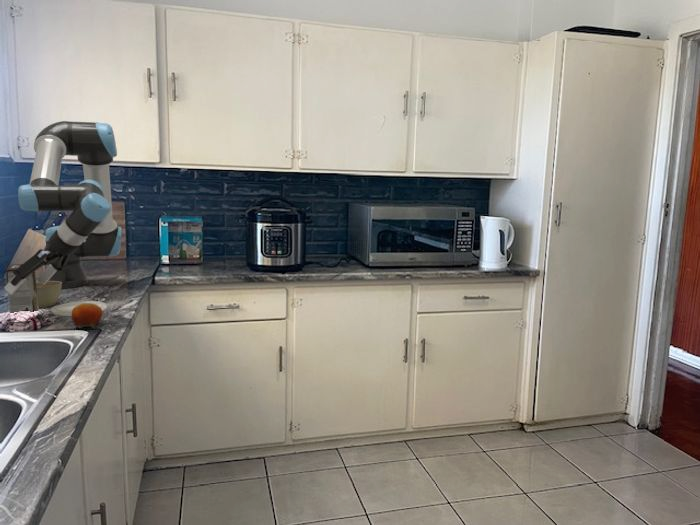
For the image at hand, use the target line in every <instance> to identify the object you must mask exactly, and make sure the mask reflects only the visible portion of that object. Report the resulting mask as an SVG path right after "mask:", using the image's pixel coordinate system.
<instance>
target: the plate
mask: <svg viewBox="0 0 700 525" xmlns="http://www.w3.org/2000/svg"><path fill="white" fill-rule="evenodd" d="M83 303H92V304H96V305H98V306H99V307H100V308H101V309H102V313H103V312H104V311H106V310H107V309H108V305H107V303H105V302H103V301H97V300H77V301H71V302H66V303H62V304H59V305H54V306H53V307H51V314H52V315H53V314H54V315H53V316H56V315H57V317H63V316H67V317H66V318H70V316H71V318H72V310H73V308H74V307H76V306H78V305H80V304H83Z"/></svg>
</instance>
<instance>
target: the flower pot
mask: <svg viewBox="0 0 700 525" xmlns="http://www.w3.org/2000/svg"><path fill="white" fill-rule="evenodd" d="M61 287H62V282H59V281H47V282H46V283H45V284H44V285H42V284H41V283H40V282H39V281H38V282H37V281H36V288H37V300H38V307H40V306H41V308H43V307H44V308H46V307H51V306H56V304H57V301H58V300H59V298H60V295H61V291H62V288H61Z"/></svg>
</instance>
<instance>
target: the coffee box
mask: <svg viewBox="0 0 700 525" xmlns="http://www.w3.org/2000/svg"><path fill="white" fill-rule="evenodd" d="M22 264H23V263H16V264H13V263H12V264H10V265H9V266H8V267H7V268H6V269H5V274H6V283H7V284H8V283H9V282H10V281H11V280H12V278H13V277H14V276H15V275H14V274H13V272H14V270H15V269H17V268H19V267H20V266H21V265H22ZM36 283H37V276H36V271H35V272H33V273H32V274H30V275H29V276H27V277H26V280H25V281H24V282H23V283H22V284H21V285H20V287H19V288H18V289H17V290H16V291H15V292H14V293H13V294H12V295H10V294H9V293H8V292H7V297H8V305H9V306H8V307H9V314H10V313H14V312H19V311H30V312H34V311H39V306H38V300H37V288H36ZM7 284H6V285H7Z"/></svg>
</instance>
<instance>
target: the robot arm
mask: <svg viewBox="0 0 700 525" xmlns="http://www.w3.org/2000/svg"><path fill="white" fill-rule="evenodd" d="M33 149H34V153H35V156H34V160H33V164H32V170H31V171H32V172H31V176H30V180H29V183H27V184H21V185H20V186H19V187H18V191H17V193H18V194H17V195H18V204H19V207H20V209H21V210H23V211H27V212H29V211H32V212H51V211H54V212H55V211H56V212H59V211H60V212H62V211H63V212H65V211H68V212H69V211H71V213H70V214H69V215H68V216H67V218H65V220H64V221H63V222H62V223H60V225H56V226H51V227H49V228H47V229H46V230H45V239H44V241H45V247H46V248H44V249H42V248H40V249H38V251H36V253H35V254H34V255H32V256H31V257H30V258H29V259H27V260H26V261H25V262H23V263H21V264H22V265H21V266H20V267H19V268H17V269H15V270H14V272H13V274H14V275H15V276H14V277H13V278H12V280H11V281H10V282H9V283H8V284H6V285H5V286H4V289H5V291H6V292H7V294H8V293H9V294H10V295H12V294H13V293H14V292H15V291H16V290H17V289H18V288H19V287H20V285H21V284H22V283H23V282H24V281H25V280H26V277H27V276H29V275H30V274H32V273H33V272H35V273H36V271H38V270H39V269H40V268H42V267H43V266H46V268H45V269H44V270H43V271H42V272H41V273H40V274H39V275H38V276H37V277H36V281H37V280H38V282H40V283H41V284H42V285H44V284H45V283H46V282H47V281H59V282H62V287H61V289H71V288H79V287H82V286H86V285H87V284H88V282H89V281H88V277H87V274H86V272H85V269H84V267H83V264H82V258H98V257H99V258H100V257H107V258H109V257H115V256H116V257H117V256H119V254H120V252H121V246H122V245H121V244H122V227H121V226H118V223H117V221H115V219H114V218H113V204H112V191H111V190H112V188H111V176H110V165H111V164H112V163H113V162H114V158H115V157H118V151H117V150H118V149H117V142H116V138H115V133H114V130H113V126H112V125H110V124H109V123H107V122H106V123H103V122H98V121H96V122H92V121H90V122H89V121H88V122H87V121H68V120H63V121H58V122H57V121H56V122H55V123H52V124H49V125H47V126H46V127H45V128H43V129H42V130H41V131H40V132H39V133H38V134H37V135H36V136H35V139H34V143H33ZM65 156H71V157H72V156H73V157H75V156H76V157H77V161H78V163H80V164H81V165H82V169H83V176H84V177H83V179H84V180H82V181H80V182H79V183H78V184H72V185H71V184H66V185H65V184H62V185H61V184H60V177H61V167H62V162H63V161H62V160H63V159H64V157H65Z"/></svg>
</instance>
